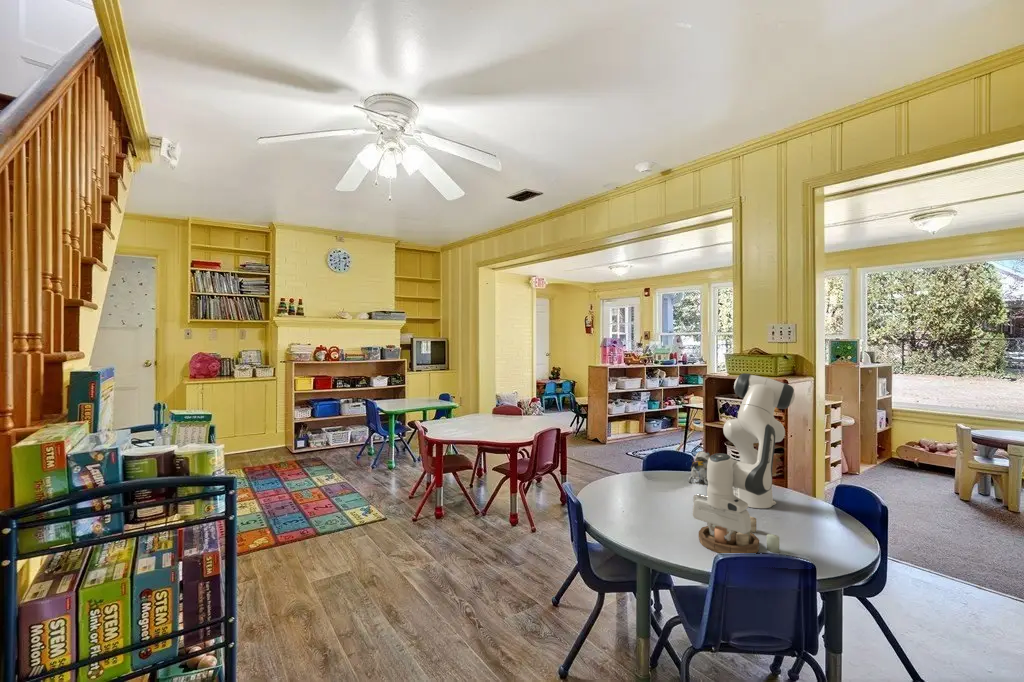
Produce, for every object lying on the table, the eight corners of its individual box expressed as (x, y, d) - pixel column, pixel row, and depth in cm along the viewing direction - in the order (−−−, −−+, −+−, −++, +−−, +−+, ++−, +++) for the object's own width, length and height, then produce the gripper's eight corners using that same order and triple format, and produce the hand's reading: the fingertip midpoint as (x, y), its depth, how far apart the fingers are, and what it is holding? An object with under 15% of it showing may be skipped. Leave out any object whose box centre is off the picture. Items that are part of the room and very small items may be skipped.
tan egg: (743, 528, 185) (743, 516, 185) (753, 529, 184) (753, 516, 184) (747, 532, 181) (747, 520, 181) (758, 533, 180) (758, 520, 180)
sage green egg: (764, 547, 168) (764, 533, 168) (776, 548, 167) (776, 534, 167) (769, 552, 164) (769, 538, 164) (781, 553, 163) (781, 539, 163)
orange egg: (712, 541, 168) (712, 528, 168) (717, 538, 170) (717, 525, 170) (723, 545, 165) (723, 531, 165) (728, 542, 167) (728, 528, 167)
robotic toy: (718, 479, 250) (718, 451, 250) (706, 487, 237) (706, 457, 237) (695, 474, 259) (694, 448, 259) (682, 481, 246) (681, 453, 246)
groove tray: (692, 531, 182) (692, 517, 182) (745, 533, 180) (745, 519, 180) (708, 555, 162) (708, 539, 162) (768, 557, 160) (768, 541, 160)
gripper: (689, 494, 173) (689, 531, 173) (744, 509, 158) (744, 549, 158) (697, 490, 177) (698, 526, 177) (752, 505, 162) (753, 544, 162)
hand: (720, 537), depth 167 cm, fingers closed on orange egg, 4 cm apart
